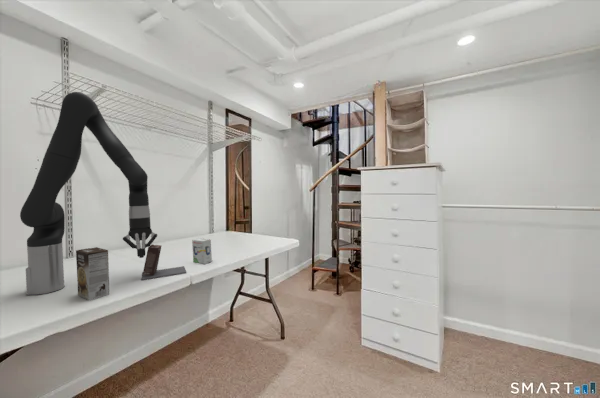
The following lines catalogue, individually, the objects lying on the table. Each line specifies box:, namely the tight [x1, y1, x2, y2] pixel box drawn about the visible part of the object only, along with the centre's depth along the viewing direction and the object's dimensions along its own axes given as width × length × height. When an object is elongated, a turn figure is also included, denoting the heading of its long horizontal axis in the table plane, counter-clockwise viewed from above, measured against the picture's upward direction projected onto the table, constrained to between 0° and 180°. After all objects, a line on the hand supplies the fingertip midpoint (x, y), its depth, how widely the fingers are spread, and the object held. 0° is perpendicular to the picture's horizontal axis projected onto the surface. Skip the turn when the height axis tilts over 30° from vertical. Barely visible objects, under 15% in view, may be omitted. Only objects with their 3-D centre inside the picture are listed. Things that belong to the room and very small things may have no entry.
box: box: [142, 244, 162, 276], centre depth 109 cm, size 6×4×12 cm
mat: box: [140, 265, 187, 281], centre depth 112 cm, size 17×10×1 cm, turn 120°
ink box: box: [191, 237, 213, 265], centre depth 129 cm, size 9×5×12 cm, turn 62°
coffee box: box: [75, 247, 110, 301], centre depth 89 cm, size 9×6×16 cm
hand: (141, 257), depth 107 cm, fingers closed
